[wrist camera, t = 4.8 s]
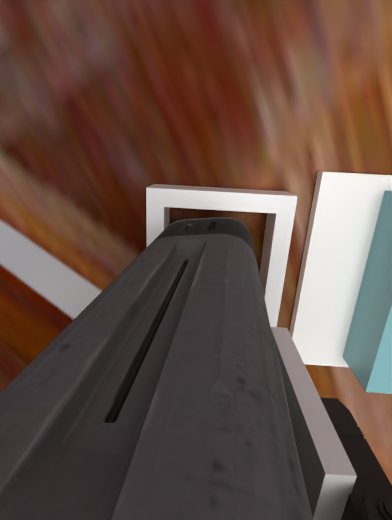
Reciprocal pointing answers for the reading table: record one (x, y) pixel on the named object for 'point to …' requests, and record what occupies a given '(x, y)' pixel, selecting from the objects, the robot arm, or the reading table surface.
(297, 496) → the electronic device
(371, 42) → the reading table surface
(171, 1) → the reading table surface
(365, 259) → the dock
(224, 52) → the reading table surface
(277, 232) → the white rectangular frame
